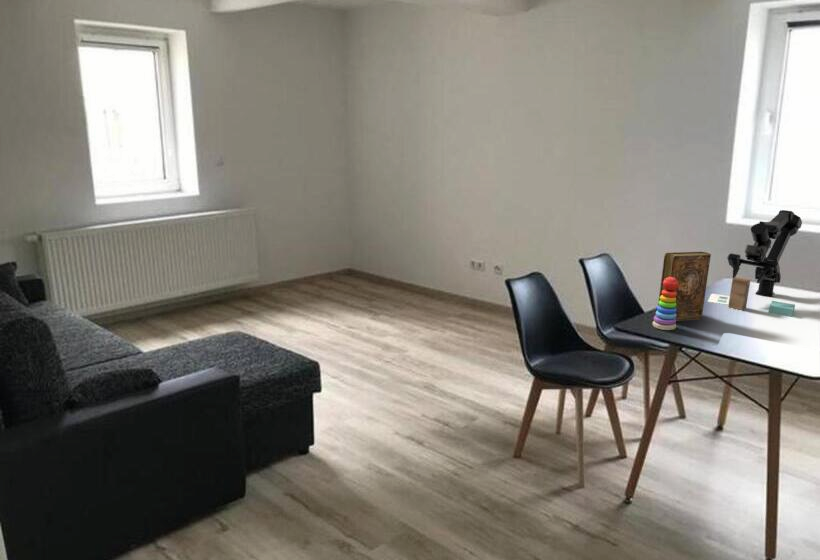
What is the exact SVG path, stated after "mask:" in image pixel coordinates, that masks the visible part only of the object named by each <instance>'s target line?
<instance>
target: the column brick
mask: <svg viewBox="0 0 820 560" xmlns="http://www.w3.org/2000/svg"><path fill="white" fill-rule="evenodd" d="M750 286H751V278H747V277H741V276H736V277H735V278H732V282H731V287H730V293H729V296H730V299H729V305H727V308H728V307H729V308H728V309H731V308H733V310H736V309H737V310H736V311H740V310H742V311H743V310H745V309H746V308H747V303H748V299H749V291H750Z"/></svg>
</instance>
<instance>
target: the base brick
mask: <svg viewBox="0 0 820 560" xmlns="http://www.w3.org/2000/svg"><path fill="white" fill-rule="evenodd" d="M768 306H769V307H768V314H773V315H779V316H783V317H784V316H785V317H790V318H791V317H793V315H794V312H795V308H796V304H795V303H788V302H781V301H777V300H776V301H775V300H772V301H771V303H770V304H769V305H768Z"/></svg>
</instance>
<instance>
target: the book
mask: <svg viewBox="0 0 820 560" xmlns="http://www.w3.org/2000/svg"><path fill="white" fill-rule="evenodd" d="M711 257H712V254H711V253H710V252H706V251H705V252H704V251H680V252H665V253H664V256H663V263H662V264H663V265H662V271H661V279H660V288H659V297H658V303H657V307H658V306H659V301H660V296H661V295H662V290H664V287H663V281H664V280H665V279H666V278H668V277H673V278H675V279H676V280H677V281H678V287H677V288H676V289H675V290H674V291H676V292H677V295H676V296H675V297H676V301H675V302H676V304H677V305H676V307H675V308H676V312H675V313H676V318H675V319H676V322H678V321H679V322H680V321H697V320H703V311H704V304H705V297H706V291H707V283H708V276H709V270H710V262H711ZM656 311H658V310H657V309H656Z"/></svg>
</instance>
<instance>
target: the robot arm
mask: <svg viewBox="0 0 820 560" xmlns="http://www.w3.org/2000/svg"><path fill="white" fill-rule="evenodd" d="M802 224H803V221H802V218H801V217H800V216H798V215H797V214H795V212H793V211H792V210H786V209H785V210H783V209H782V210H781V209H780V210H779V211H778V213H777V214H776V215H775V216H774V217H773V218H772V219H771V220H770V221H760V220H759V222H758V223H755V224H753V225H752V226H751V228H750V232H751V236H752V240H753V241H754V243H753V244H752V245H751V244H746V246H745V249H744V253H745V258H743V257H741V255H740V254H737V253H732V252H731V253H729V254H728V256H727V261H728V264H729V266H731V268H732V279H734V278H736V277H737V275H738V272H739V270H740V269H741V268H740V267H741V264H743V265H748V266H752V267H755V271H754V272H755V273H754V275H755V276H754V277H755V278H754V279H755V280H756V283H757V284H758V289H757V291H756V292H755V295H759V296H764V297H765V296H766V297H774V295H775V292H774V288H775V284H777V283H778V284H779V283H780V282H781V280H782V279H781V278H782V275H781V271H780V270H781V267H780V263H779V262H780V259H781V257H782V256H783V253H784V251H785V249H786V246H787V244H788V243H789V240H790V238H791V237H793V236H794V235H796V234H797V233H798V231H799V229H801V227H802ZM772 240H774V242H773V241H772ZM772 242H773V244H772ZM771 245H772V246H771ZM769 249H770V250H769ZM768 251H769V252H768ZM767 253H768V255H767Z"/></svg>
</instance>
